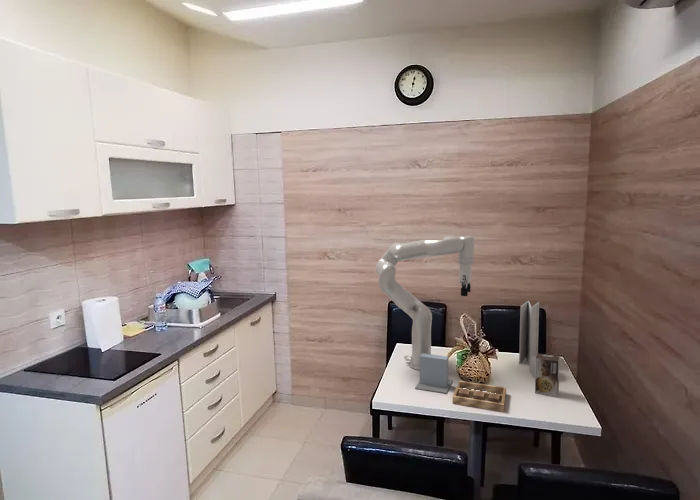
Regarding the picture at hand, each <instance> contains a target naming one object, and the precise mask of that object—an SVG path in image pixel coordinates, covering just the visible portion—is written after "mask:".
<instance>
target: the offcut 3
mask: <svg viewBox="0 0 700 500" xmlns="http://www.w3.org/2000/svg"><path fill="white" fill-rule="evenodd" d="M487 401H490V402H496V403H501V402H500V395H497V394H491V393H490V394H489V399H488V400H487Z"/></svg>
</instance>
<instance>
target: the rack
mask: <svg viewBox="0 0 700 500" xmlns="http://www.w3.org/2000/svg"><path fill="white" fill-rule="evenodd" d="M463 388H467V389H465V390H469V389H474V390H470V398H466V397H459V390H460V389H463ZM476 390H480V391H478V392H482V391H487V392H484V393H485V399H486V400H485V401H484V400H478V399H473V398H471V397H473V394H474V392H475V391H476ZM489 392H491V394H495V393H496V394H497V395H500V403H496V402H490V401H488V399H489V394H490V393H489ZM506 399H507V387H503V386H498V385H492V384H484V383H477V382H471V381H466V380H459V381H458V383H457V384H456V387H455V390H454V392H453V395H452V404H454V405H459V404H460V406H465V405H466V406H467V407H471V406H472V407H473V408H477V409H483V410H489V409H490V410H489V411H495V412H502V413H504V412H505V411H504V410H505V405H506Z"/></svg>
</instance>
